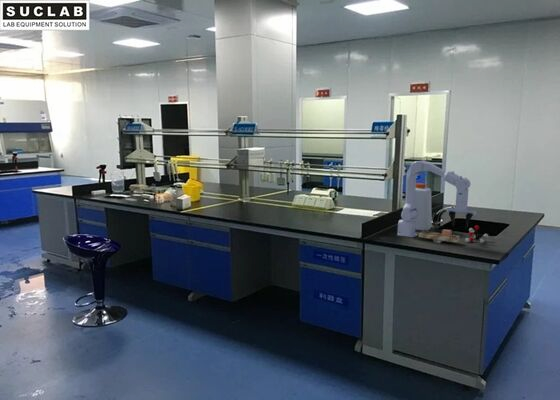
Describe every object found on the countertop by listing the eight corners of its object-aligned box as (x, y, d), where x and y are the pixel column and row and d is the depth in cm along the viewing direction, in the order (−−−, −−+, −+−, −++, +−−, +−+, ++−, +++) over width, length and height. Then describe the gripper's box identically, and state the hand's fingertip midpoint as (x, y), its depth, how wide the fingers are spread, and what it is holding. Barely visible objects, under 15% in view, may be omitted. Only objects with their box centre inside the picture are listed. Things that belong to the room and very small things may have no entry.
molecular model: (471, 246, 241) (475, 229, 243) (486, 248, 235) (490, 231, 237) (460, 239, 231) (464, 221, 232) (476, 241, 225) (479, 223, 226)
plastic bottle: (403, 229, 264) (405, 184, 259) (408, 224, 277) (410, 181, 273) (428, 232, 257) (431, 185, 252) (432, 227, 270) (435, 183, 266)
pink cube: (441, 237, 232) (442, 230, 232) (443, 235, 235) (444, 229, 235) (449, 238, 230) (449, 231, 229) (451, 236, 233) (451, 230, 232)
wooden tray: (418, 239, 239) (418, 230, 238) (422, 237, 244) (423, 228, 243) (455, 245, 227) (456, 236, 226) (459, 242, 232) (459, 233, 232)
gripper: (445, 200, 227) (443, 225, 229) (474, 203, 218) (472, 229, 220) (449, 199, 232) (447, 223, 234) (477, 201, 224) (475, 227, 226)
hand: (459, 226), depth 228 cm, fingers open, 6 cm apart
